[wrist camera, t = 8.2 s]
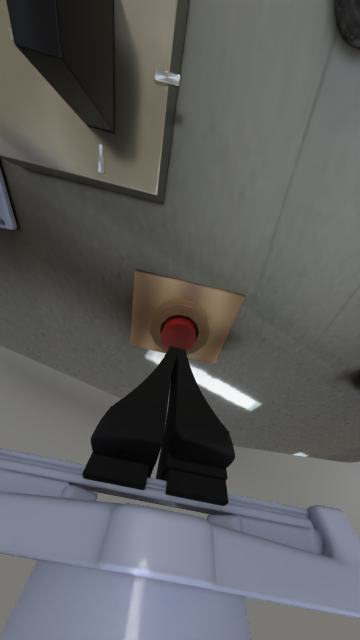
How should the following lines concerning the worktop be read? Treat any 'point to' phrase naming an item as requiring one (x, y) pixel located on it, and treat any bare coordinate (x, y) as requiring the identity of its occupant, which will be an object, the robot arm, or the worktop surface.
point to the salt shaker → (349, 20)
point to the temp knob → (70, 51)
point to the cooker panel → (128, 106)
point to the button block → (182, 313)
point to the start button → (179, 333)
